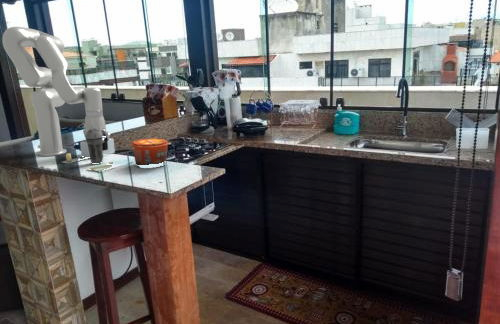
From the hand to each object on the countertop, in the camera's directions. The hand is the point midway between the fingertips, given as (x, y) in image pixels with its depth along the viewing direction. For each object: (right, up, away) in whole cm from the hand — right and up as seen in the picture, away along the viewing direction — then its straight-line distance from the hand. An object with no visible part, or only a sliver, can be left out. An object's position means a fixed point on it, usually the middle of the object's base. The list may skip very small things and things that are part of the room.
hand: (97, 149), depth 179 cm
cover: (0, -3, +1) cm, 3 cm away
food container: (+31, -8, -17) cm, 36 cm away
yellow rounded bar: (-6, -6, -11) cm, 13 cm away
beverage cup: (+6, -7, -15) cm, 18 cm away
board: (+14, -8, -20) cm, 26 cm away
